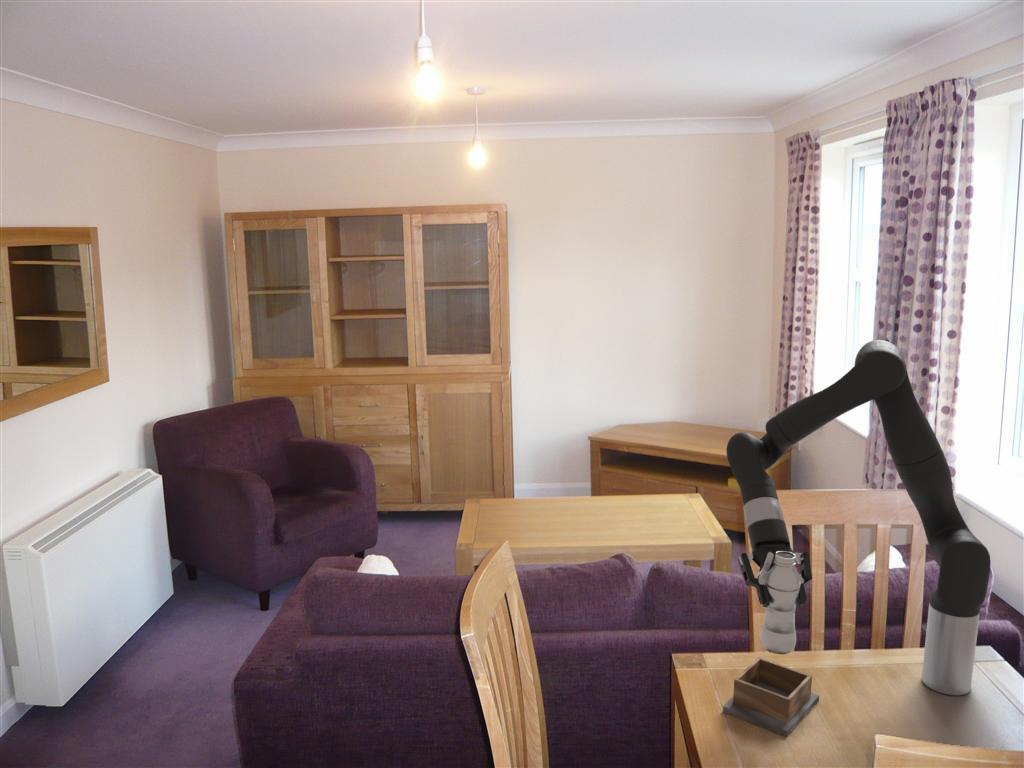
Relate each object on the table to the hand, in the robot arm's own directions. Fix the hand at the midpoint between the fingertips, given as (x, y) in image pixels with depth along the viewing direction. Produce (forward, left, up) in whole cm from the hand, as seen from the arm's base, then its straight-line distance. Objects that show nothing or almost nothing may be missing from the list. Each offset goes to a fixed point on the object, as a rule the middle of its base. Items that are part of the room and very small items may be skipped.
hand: (784, 605), depth 166 cm
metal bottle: (-1, -1, -11) cm, 11 cm away
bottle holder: (-1, -2, -23) cm, 23 cm away
